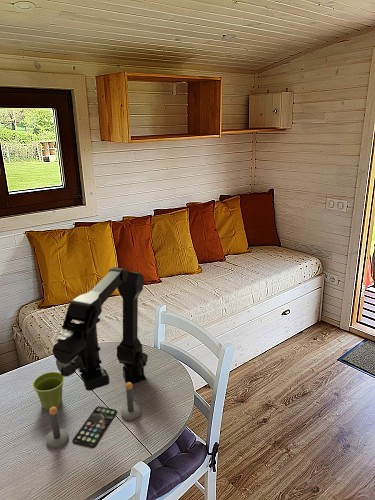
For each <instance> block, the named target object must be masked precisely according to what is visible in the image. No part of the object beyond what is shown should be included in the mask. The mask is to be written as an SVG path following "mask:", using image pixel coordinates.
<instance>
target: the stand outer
mask: <svg viewBox="0 0 375 500" xmlns="http://www.w3.org/2000/svg"><path fill="white" fill-rule="evenodd" d="M48 414H49V415H50V421H51V428H52V429H51V431H50V432H49V433H47V435H46V437H45V443H46V446H47V447H48V448H51V449H58V448H62V447H63V446H65V444H66V443H68V441H69V432H68V430H67V429H65V428H61V427H60V425H59V424H60V422H59V418H58V417H59V416H58V407H57V408H56V407H51V408H50V410H49V411H48Z"/></svg>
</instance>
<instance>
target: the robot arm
mask: <svg viewBox="0 0 375 500" xmlns="http://www.w3.org/2000/svg"><path fill="white" fill-rule="evenodd" d="M144 284H145V278H144V276H143V274H142V273H141V272H136V271H130V270H127V269H126V268H122V267H121V268H120V267H115V266H114V267H111V268H109V270H108V272H107V274H106V275H105V276H104V277H102V279H101V280H100V281H98V283H97V284H95V286H93V287H92V289H91V290H89V291H88V292H85V293H82V294H80V295H78V296H77V297H75V298H73V299H72V300H71V301H70V302H69V305H68V307H67V311H66V313H65V317H64V319H63V324H62V327H61V329H63V330H66V331H67V332H66V333H64V334H63V335H61V336H59V337H58V338H57V343H55V344H54V345H53V347H52V355H53V357H54V358H55V359H56V361H55V364H56V367H57V369H58V371H59V373H61V375H62V376H63V377H64V378H65V377H67V378H68V377H70V376H71V375H73V374H75V373H76V371H78V372H79V375H80V378H81V380H82V381H83V385H84V388H85V390H86V391H94V390H96V389H98V388H103V387H105V386H108V385H110V376H109V374H108V372H107V369H104V368H102V367H101V365H100V364H102V359H101V357H100V351H101V346H100V344H99V340H98V339H99V338H98V331H97V324H98V323H99V322H101V318H99V316H101V314H102V312H103V311H102V310H103V309H102V308H103V305H104V303H105V302H106V301H107V299H108V298H110V296H112V294H113V293H114V292H115V291H116V290H117V292H118V294H119V295H120V297H121V298H122V339H121V342H120V343H119V344H118V345H117V347H116V357H117V360H118V362H119V364H123V366H122V377H123V379H124V380H125V382H126V384H127V383H128V382H131V383H132V384H136V383H139V382H143V381H145V380H146V379H147V378H146V377H147V376H146V375H145V366H147V362H148V360H149V359H148V357H149V356H148V354H147V353H145V352H143V351H144V350H143V344H142V343H141V341H140V339H139V338H138V330H139V329H138V327H139V326H138V323H139V322H138V318H139V317H138V315H139V314H138V312H139V311H138V309H139V308H138V307H139V306H138V305H139V303H138V301H139V297H140V295H141V293H142V291H143V289H144ZM72 321H78V322H79V323H76V322H72Z"/></svg>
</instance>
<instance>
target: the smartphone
mask: <svg viewBox="0 0 375 500" xmlns="http://www.w3.org/2000/svg"><path fill="white" fill-rule="evenodd" d="M117 414H118V410H117V409H113V408H109V407H104V406H101V405H98V406H96V407H95V408H94V409H93V411H92V412H91V413H90V415H89V416H88V418H87V419H86V421H85V422H84V423H83V425H82V426H81V428H80V429H79V430H78V432H77V433H76V434H75V435H74V437H73V439H72V443H73V444H74V445H78V446H83V447H86V448H90V449H93V448H96V447H97V446H98V443H99V442H100V440H101V439H102V437H103V436H104V435H105V432H106V431H107V429H108V427H109V426H110V425H111V423H112V422H113V420H114V418H115V417H116V415H117Z"/></svg>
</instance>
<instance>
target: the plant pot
mask: <svg viewBox="0 0 375 500" xmlns="http://www.w3.org/2000/svg"><path fill="white" fill-rule="evenodd" d="M64 382H65V377H63V376H62V375H61V373H60V371H59V372H58V371H48V372H45V373H43V374H41V375H38V376H37V377H36V378H35V379H34V380H33V382H32V388H33V389H34V391H35V392H36V393H37V395H38V398H39V402H40V404H41V407H42V408H43V409H44V410H46V411H48V410H50V408H51V407H56V408H57V409H58V407H60V405H61V404H62V402H63V385H64Z"/></svg>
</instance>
